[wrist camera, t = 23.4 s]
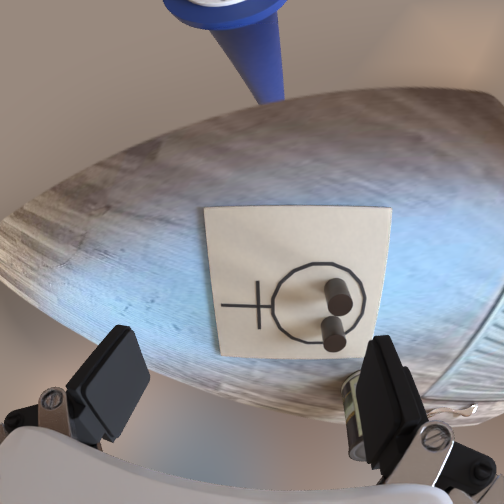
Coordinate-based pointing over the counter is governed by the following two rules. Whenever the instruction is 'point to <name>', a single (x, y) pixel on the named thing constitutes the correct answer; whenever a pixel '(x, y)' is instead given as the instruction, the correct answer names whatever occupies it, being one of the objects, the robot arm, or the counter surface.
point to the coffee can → (353, 418)
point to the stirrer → (463, 412)
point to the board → (294, 276)
